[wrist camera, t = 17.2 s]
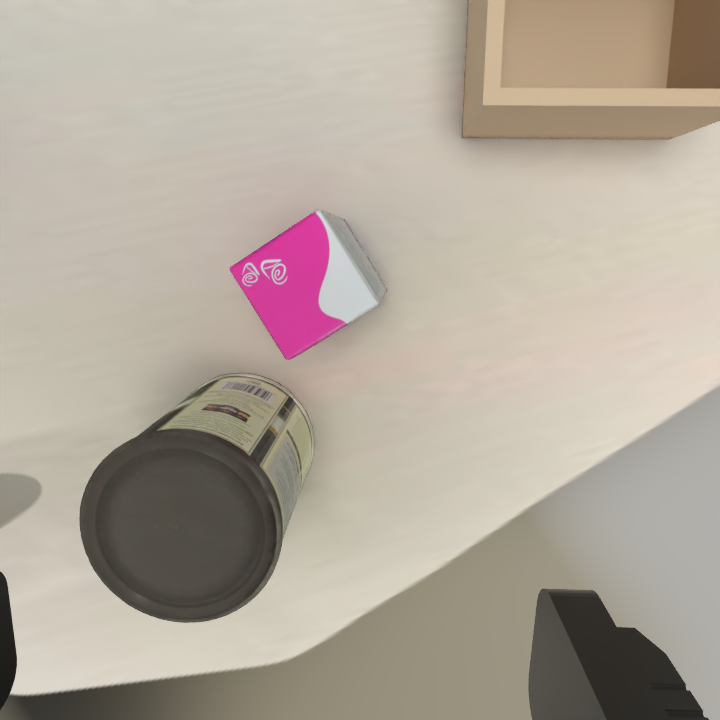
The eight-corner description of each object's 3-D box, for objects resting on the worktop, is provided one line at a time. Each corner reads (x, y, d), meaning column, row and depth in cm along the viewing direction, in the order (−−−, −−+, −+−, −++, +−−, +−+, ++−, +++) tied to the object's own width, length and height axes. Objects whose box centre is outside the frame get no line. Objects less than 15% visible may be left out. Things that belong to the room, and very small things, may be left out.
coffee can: (193, 519, 47) (108, 637, 33) (159, 386, 45) (53, 451, 31) (329, 497, 46) (300, 609, 32) (300, 360, 44) (255, 415, 30)
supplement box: (342, 214, 42) (322, 205, 31) (388, 290, 43) (385, 308, 31) (270, 261, 43) (225, 268, 32) (317, 334, 44) (289, 367, 32)
